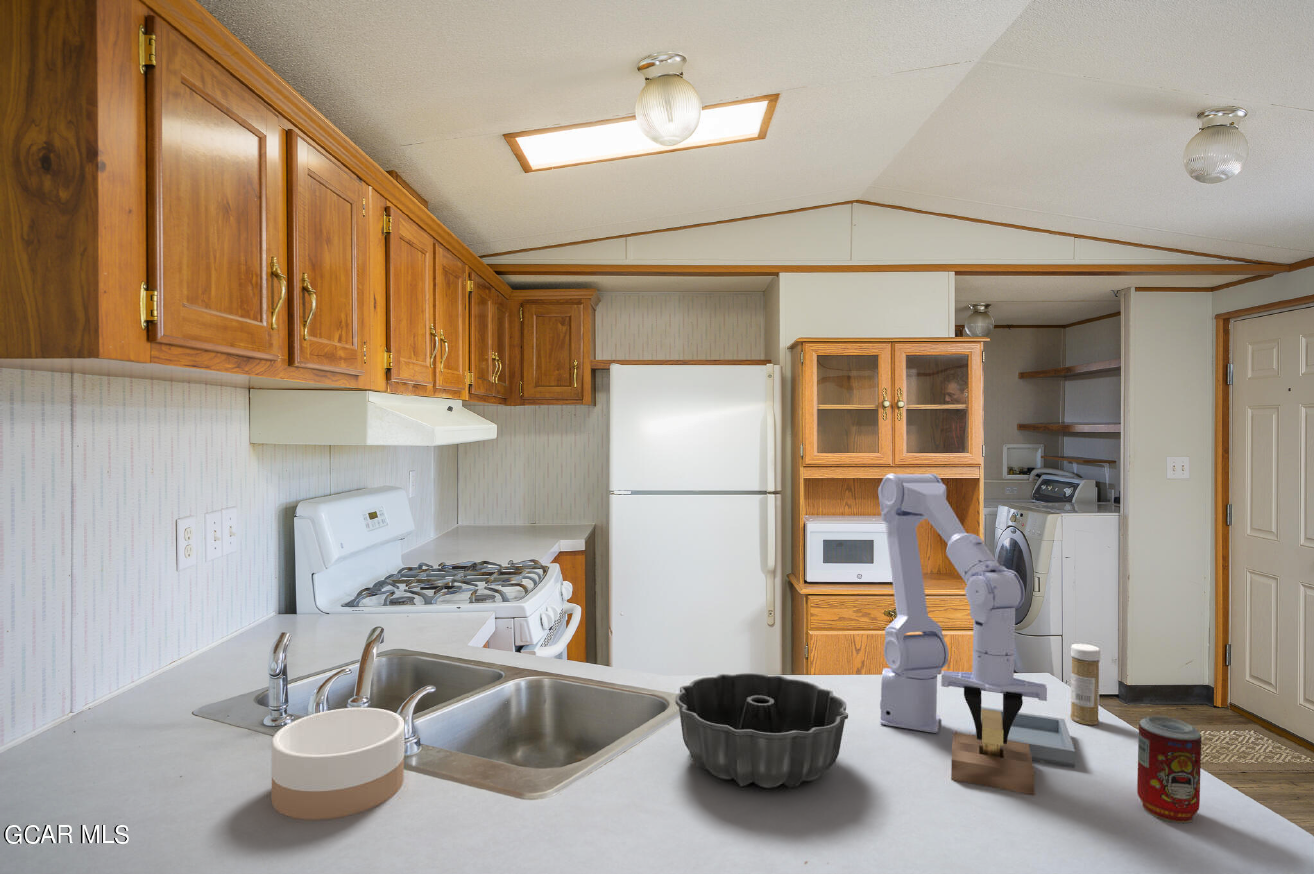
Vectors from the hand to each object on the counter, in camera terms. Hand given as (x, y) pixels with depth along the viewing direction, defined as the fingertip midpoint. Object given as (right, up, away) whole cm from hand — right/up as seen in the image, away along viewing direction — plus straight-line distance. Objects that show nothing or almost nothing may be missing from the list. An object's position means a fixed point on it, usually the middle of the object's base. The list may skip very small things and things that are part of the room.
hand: (991, 739), depth 112 cm
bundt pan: (-35, -5, +2) cm, 35 cm away
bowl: (-96, -4, -8) cm, 96 cm away
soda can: (+19, -6, -11) cm, 23 cm away
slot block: (0, -5, 0) cm, 5 cm away
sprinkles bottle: (+26, -5, +20) cm, 33 cm away
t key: (0, -4, 0) cm, 4 cm away
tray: (+10, -5, +11) cm, 16 cm away
